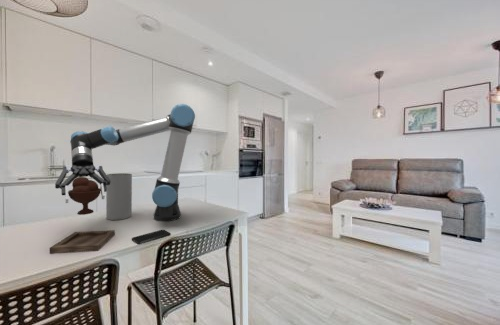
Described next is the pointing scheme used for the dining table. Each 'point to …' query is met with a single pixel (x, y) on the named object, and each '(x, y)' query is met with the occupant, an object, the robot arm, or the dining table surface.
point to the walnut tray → (83, 241)
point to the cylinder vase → (119, 196)
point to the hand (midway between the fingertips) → (86, 199)
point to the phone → (150, 237)
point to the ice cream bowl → (84, 193)
